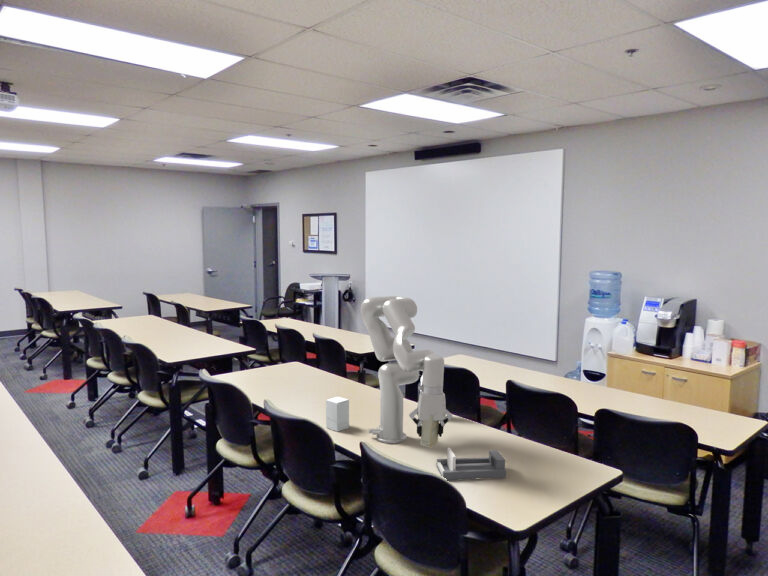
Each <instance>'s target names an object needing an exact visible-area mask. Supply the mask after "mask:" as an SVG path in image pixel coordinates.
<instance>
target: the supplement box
mask: <svg viewBox="0 0 768 576" xmlns="http://www.w3.org/2000/svg"><path fill="white" fill-rule="evenodd" d="M325 416H326V417H325V420H326V422H325V424H326V425H325V427H326V428H327V429H329V430H332V431H335V432H340V431H344V430H347V429H349V428H350V399H348V398H344V397H341V396H335V397H332V398H328V399H326V400H325Z"/></svg>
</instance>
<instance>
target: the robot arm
mask: <svg viewBox="0 0 768 576" xmlns="http://www.w3.org/2000/svg"><path fill="white" fill-rule="evenodd" d="M417 313H418V306H417V304H416V302H415V300H413V299H412V298H410V297H404V296H395V295H393V296H392V295H391V296H389V295H388V296H374V297H373V296H372V297H368V298H366V299H364V300H363V301H362V303H361V305H360V316H361V320H362V322H363V324H364V327H365V328H366V330H367V332H368V335H369V338H370V341H371V345H372V349H373V351H374V354H375V357H376V359H377V360H378V361H380V362H387V363H385V364H382V365H381V366H380V367H379V369H378V372H377V377H378V381H379V391H380V392H379V395H380V397H379V398H380V399H379V400H380V401H379V402H380V406H379V407H380V408H379V409H380V410H379V411H380V415H379V421H380V422H379V425H378V427H376V428H368V434H372V436H376V437H375V438H376V440H377V441H379V442H381V443H384V444H400V443H403V442H405V441H406V440H407V439H408V438H407V434H406V433H405V432H404V394H403V391H401V388H400V386H403V385H410V384H413V383H416V382H417V381H418V380H419V378H420V377H419V376H420V371H421V372H422V375H423V382H422V385H421V384H420V385H418V386H417V389H418V390H419V392H420V390H422V391H421V392H420V393H419V396H418V401H417V406H416V408H415V409H414V410H412V411H411V412H410V413H409V414H408V415H409V418H410V419H411V420H412V421H413V422H414V424H416V434H417V435H418V437H420V438H421V433H422V422H423V421H429V416H430V415H434V418H433V421H439V430H438V437H440V438H441V437H442V436H443V435H442V434H444V427H445V425H446V424H448V422H449V421H450V420H451V419H452V418H453V414H452V413H451V412H450V411H449V410H448V409H447V407H446V394H445V393H444V391H443V389H444V373H445V359H444V358H443V357H442V355H438V354H436V353H434V352H433V351H431V350H430V349H423V350H413V347H412V345H411V343H410V341H409V340H408V338H410V337H411V336H412V335H413V334H414V333H415V331H416V326H415V324H414V322H413V321H412V319H413V318H415V317H416V315H417ZM382 317H385V319H386V320H387V323H388V325H389V326H390V328H391V330H392V332H393V334H394V336H395V337H394V336H391V333H390V329H389V327H388V326H387V324H386V323H385V322H384V321H383V320H382V319H380V318H382ZM391 361H392V362H391ZM393 361H394V362H393ZM416 415H417V418H416ZM442 438H443V437H442Z"/></svg>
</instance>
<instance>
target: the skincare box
mask: <svg viewBox="0 0 768 576" xmlns="http://www.w3.org/2000/svg"><path fill="white" fill-rule="evenodd" d="M433 418H434V415H430V416H429V421H423V422H422V424H421V426H422V433H421V437H420V445H421V446H424V447H426V448H427V447H428V448H433V446H435V445H436V444H438V442H439V434H438V430H439V423H440V421H433Z"/></svg>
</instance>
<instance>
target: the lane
mask: <svg viewBox="0 0 768 576" xmlns="http://www.w3.org/2000/svg"><path fill="white" fill-rule="evenodd" d="M473 463H492V466H473V467H456V468H455V471H450V469H449V467H448V465H447V458H437V459H436V468H437V470H438V472H439V474H440V477H441V476H443V477H444V478H446V479H447V480H446V481H457V480H456V479H468V480H477V479H476V478H494V479H506V478H507V470H506V459H505V458H504V457H503V455H502V454H501V453H500V451H499V450H498V449H489V450H488V457H485V456H484V457H466V458H465V457H460V458H457V457H456V464H473Z"/></svg>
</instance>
